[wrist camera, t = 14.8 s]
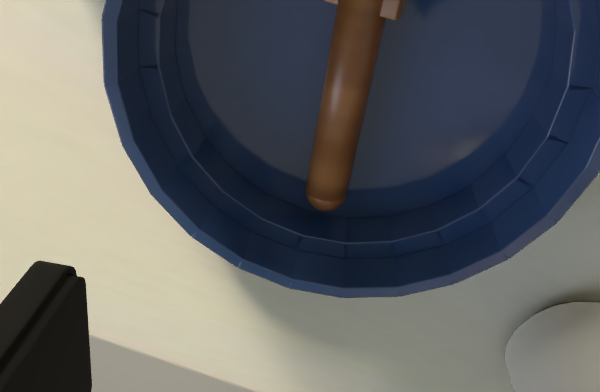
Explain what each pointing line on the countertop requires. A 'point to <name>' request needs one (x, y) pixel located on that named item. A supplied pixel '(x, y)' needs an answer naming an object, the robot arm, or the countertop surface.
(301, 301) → the countertop surface
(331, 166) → the stirring stick
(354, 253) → the bowl
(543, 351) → the can
